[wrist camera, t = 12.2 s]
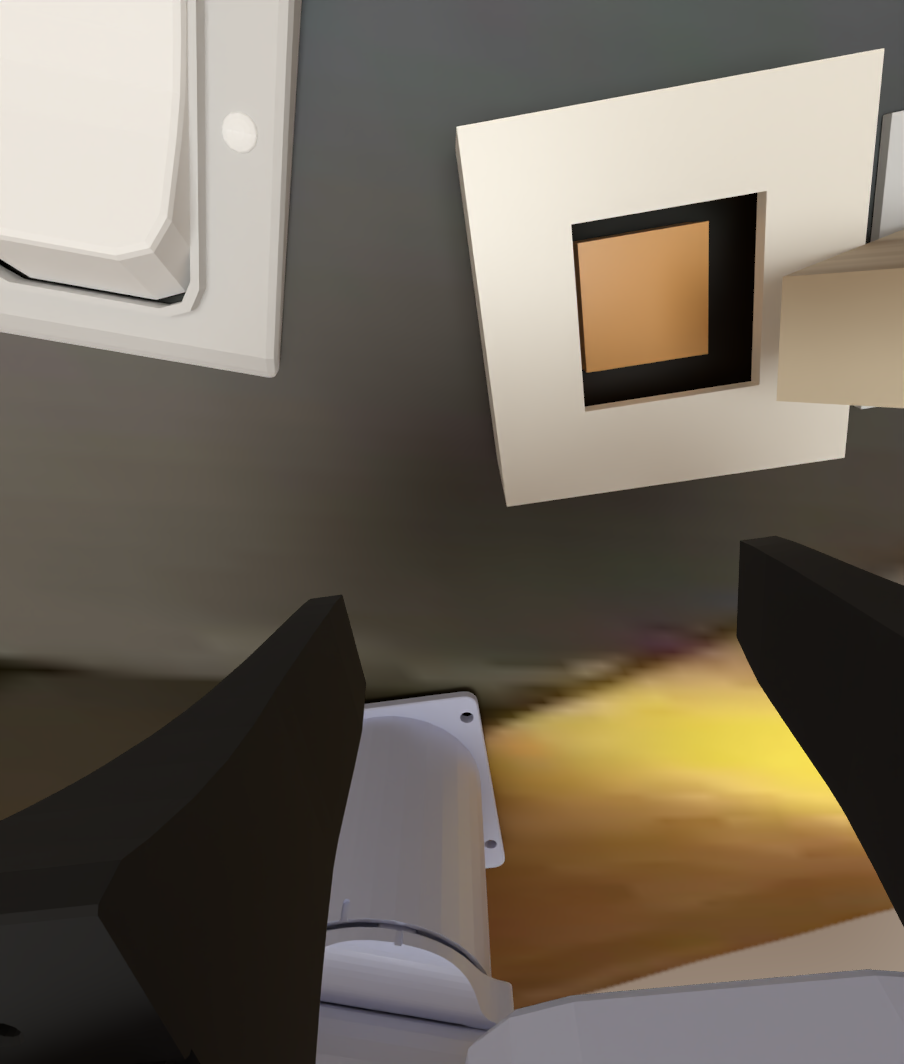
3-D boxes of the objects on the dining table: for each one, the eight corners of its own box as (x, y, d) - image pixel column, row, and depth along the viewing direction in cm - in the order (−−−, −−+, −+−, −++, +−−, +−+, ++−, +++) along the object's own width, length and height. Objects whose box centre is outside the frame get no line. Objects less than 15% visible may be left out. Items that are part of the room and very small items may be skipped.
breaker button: (686, 343, 20) (708, 353, 18) (575, 361, 20) (586, 372, 18) (685, 222, 18) (709, 221, 17) (566, 242, 19) (577, 243, 17)
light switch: (-159, 339, 17) (-356, -404, 11) (-51, 312, 21) (-156, -259, 15) (253, 408, 18) (272, -255, 12) (288, 371, 22) (316, -151, 16)
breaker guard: (774, 418, 21) (844, 457, 17) (497, 459, 22) (506, 507, 18) (790, 88, 17) (884, 48, 14) (454, 149, 18) (456, 127, 14)
